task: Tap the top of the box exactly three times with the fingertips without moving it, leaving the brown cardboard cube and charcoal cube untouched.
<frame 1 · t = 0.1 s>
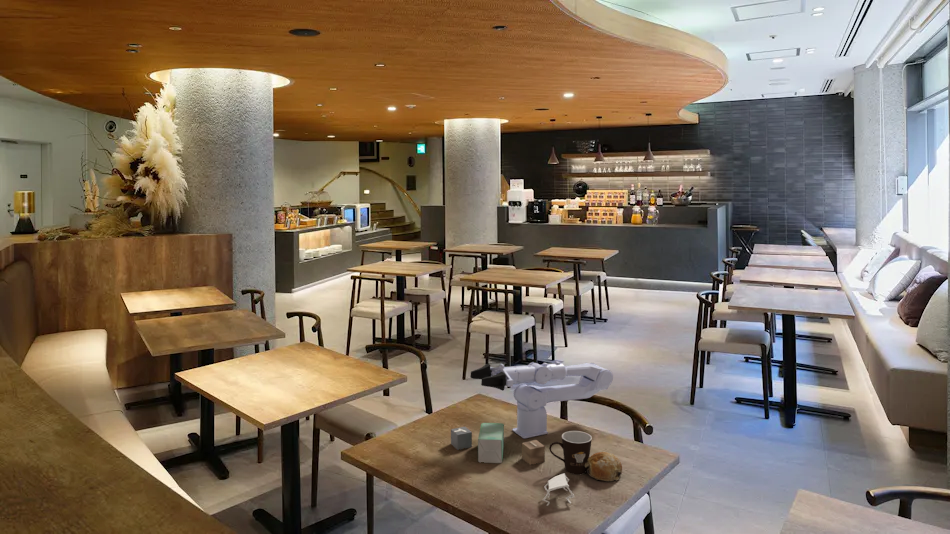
hand: (476, 378, 197), 22 cm above the table, tool horizontal, fingers open, 7 cm apart
charcoal cube: (461, 445, 199), on the table
box: (491, 453, 194), on the table
brown cardboard cube: (533, 460, 189), on the table
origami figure: (560, 498, 167), on the table
bread roll: (602, 474, 179), on the table, touching coffee mug
coffee mug: (570, 469, 183), on the table, touching bread roll
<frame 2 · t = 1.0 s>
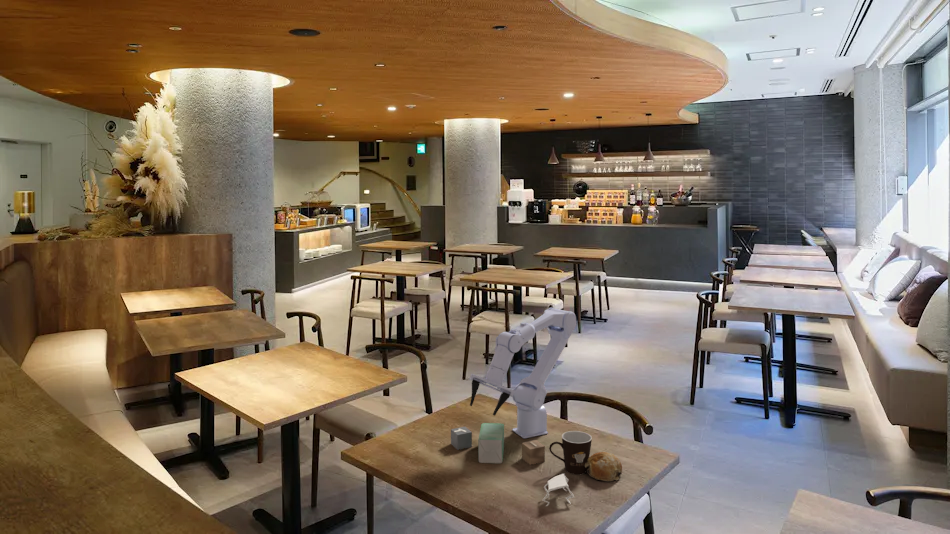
hand: (482, 410, 193), 13 cm above the table, tool tilted 30°, fingers open, 7 cm apart
nothing on the table moved.
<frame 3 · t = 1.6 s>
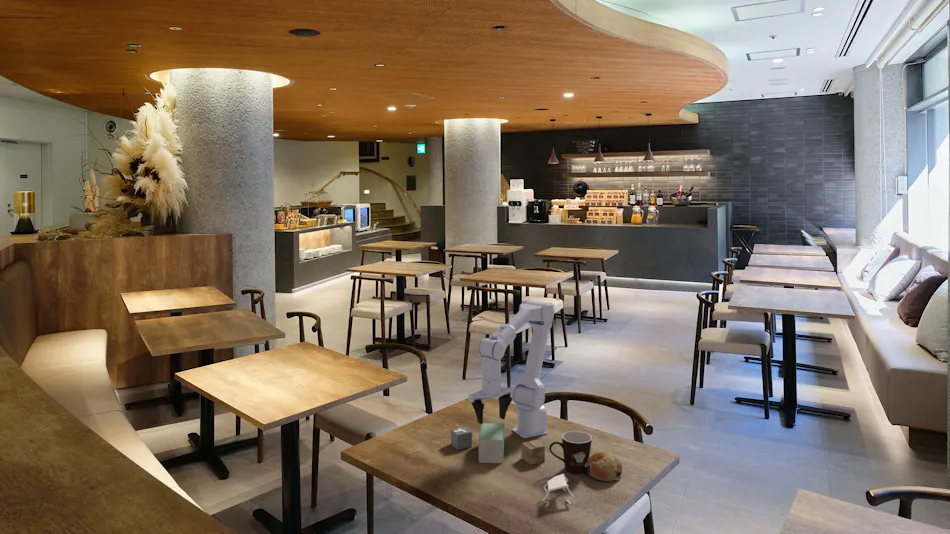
hand: (491, 420, 192), 10 cm above the table, tool pointing down, fingers open, 7 cm apart
nothing on the table moved.
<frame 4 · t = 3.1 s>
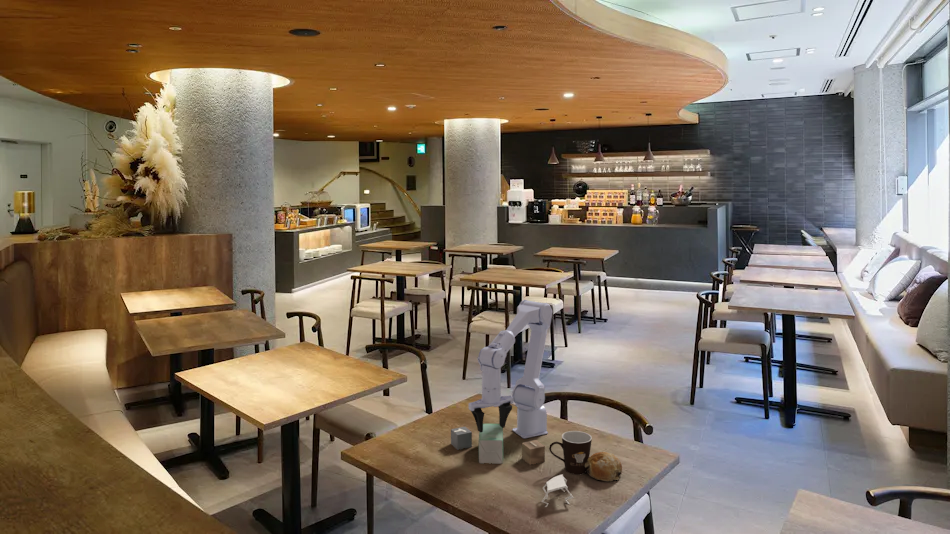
hand: (491, 428, 193), 8 cm above the table, tool pointing down, fingers open, 7 cm apart
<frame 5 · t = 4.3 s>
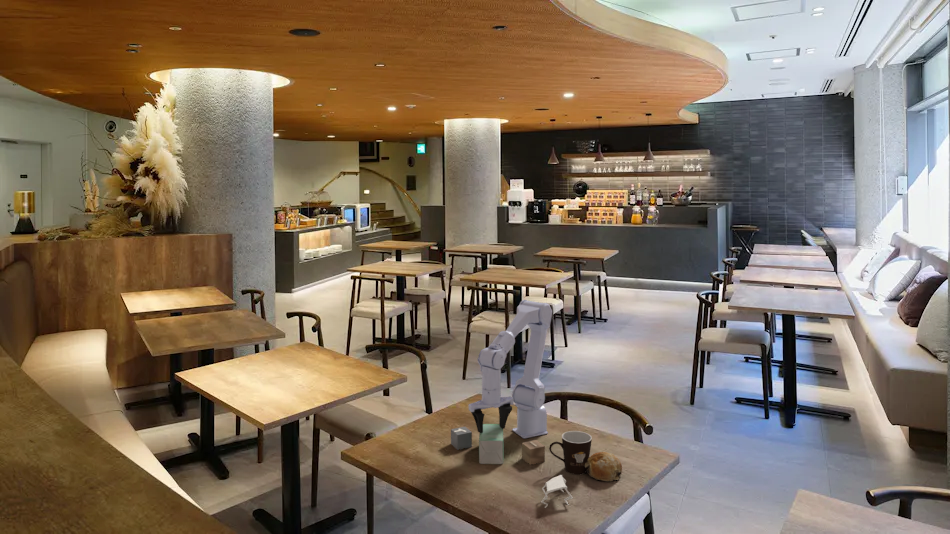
hand: (491, 429, 193), 7 cm above the table, tool pointing down, fingers open, 7 cm apart
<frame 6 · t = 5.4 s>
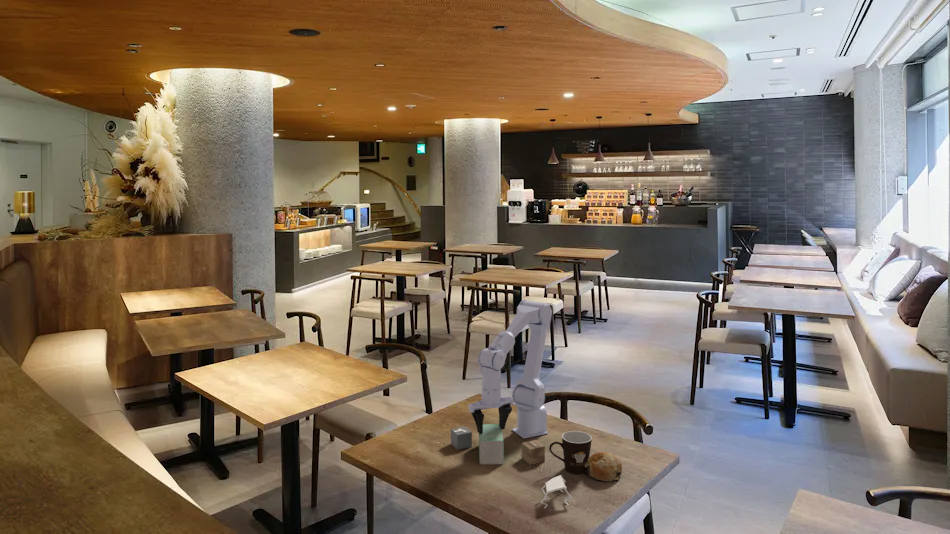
hand: (491, 430, 193), 7 cm above the table, tool pointing down
box: (490, 455, 193), on the table, touching gripper
when the fingers open (7 cm above the table, at t = 5.5 s): box stays where it is, on the table.
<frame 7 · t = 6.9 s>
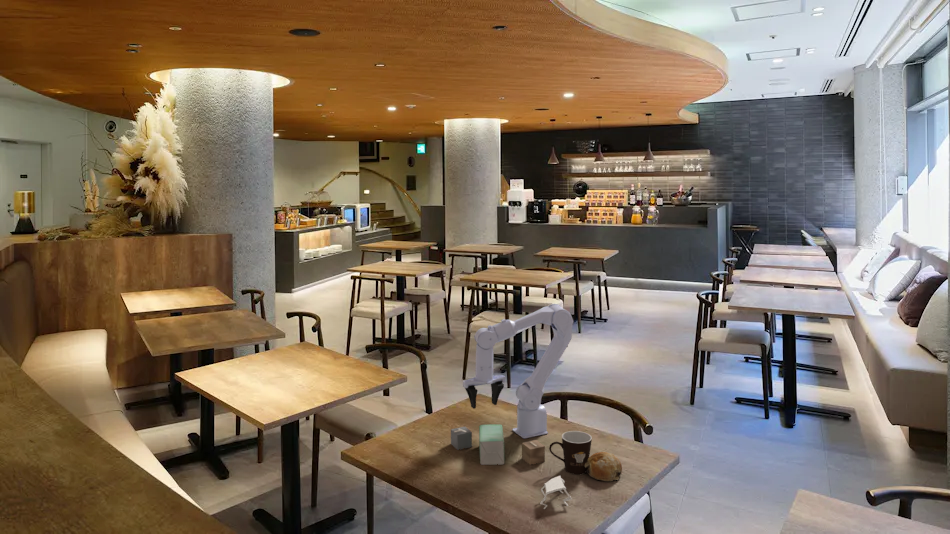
hand: (483, 405, 205), 10 cm above the table, tool pointing down, fingers open, 7 cm apart
box: (491, 455, 193), on the table
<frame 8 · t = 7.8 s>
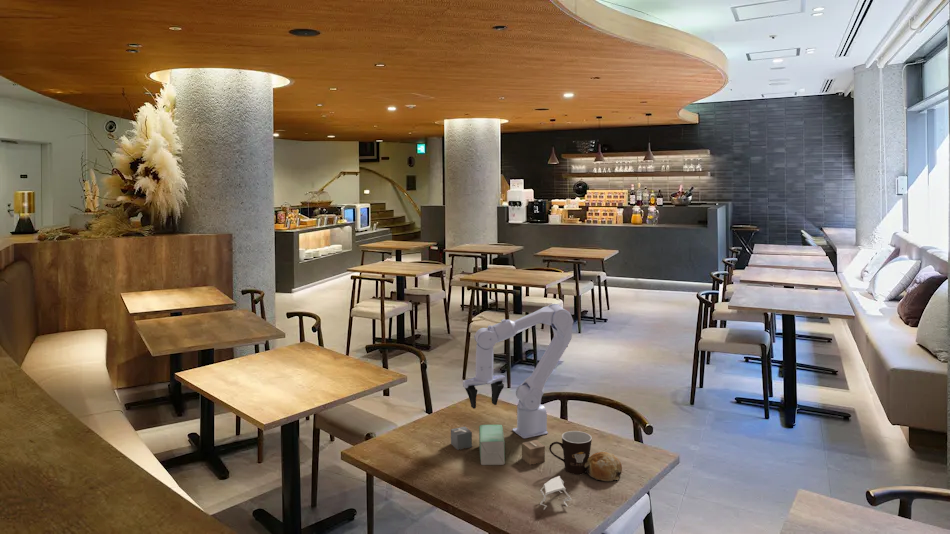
hand: (483, 405, 205), 10 cm above the table, tool pointing down, fingers open, 7 cm apart
at the end: box moved 1.5 cm from its start; box tilted 0°; brown cardboard cube moved 0.1 cm from its start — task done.
